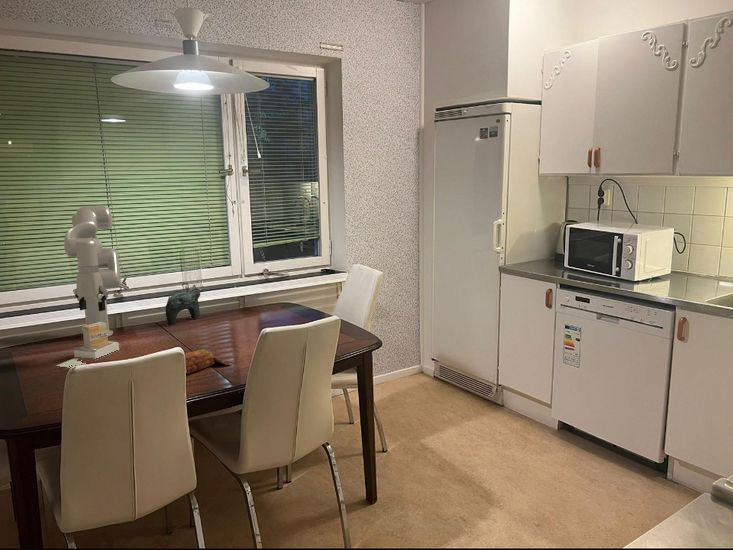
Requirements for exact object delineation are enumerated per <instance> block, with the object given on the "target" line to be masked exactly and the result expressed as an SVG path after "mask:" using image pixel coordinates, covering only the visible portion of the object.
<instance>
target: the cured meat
mask: <svg viewBox="0 0 733 550" xmlns="http://www.w3.org/2000/svg"><path fill="white" fill-rule="evenodd" d="M184 354H185V358H186V370H187V374H186V375H188V374H191V373H196V372H198V371H201V370H202V369H205V368H207V367H211V366H213V365H214V364H215V363H217V364H218V363H219V364H222V365H225V366H232V362H231V361H229V360H228V361H223V360H222V358H217V357H215V356H213V355H214V354H213V353H212V352H211V351H210V350H209V349H206V348H202V349H198V350H194V351H190V352H186V353H184Z"/></svg>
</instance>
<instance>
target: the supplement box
mask: <svg viewBox="0 0 733 550" xmlns="http://www.w3.org/2000/svg"><path fill="white" fill-rule="evenodd" d="M81 328H83V331H82V337H83V346H84V348H87V349H96V350H98V349H101V348H103V347H105V346H108V341H109V339H108V337H107V326H106V323H103V322H98V323H94V324H90V325H86V324H85V325H81Z"/></svg>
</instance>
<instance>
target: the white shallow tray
mask: <svg viewBox="0 0 733 550" xmlns="http://www.w3.org/2000/svg"><path fill="white" fill-rule="evenodd" d="M72 349H73V358H74V357H81V358H93V359H96V358H99V357H101V356H104V355H107V354H109V353H111V352H114V351H116V350H118V351H120V345H119V342H117V341H109V340H108V346H105V347H103V348H101V349H98V350H96V349H87V348H84V345H83V346H79V347H75V346H73V348H72ZM116 352H117V351H116ZM114 353H115V352H114ZM111 354H112V353H111ZM109 355H110V354H109ZM107 356H108V355H107ZM104 357H105V356H104Z"/></svg>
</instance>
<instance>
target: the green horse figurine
mask: <svg viewBox="0 0 733 550" xmlns="http://www.w3.org/2000/svg"><path fill="white" fill-rule="evenodd" d="M185 284H186V285H187V286H185V289H186V290H185V291H180V290H175V291H173V292H171V293H170V294H169V296H168V300H167V302H166V305H165V315H166V316H165V317H166V320H167V326H171V325H172V326H175V324H176V325H177V316H178V315H179V313H180V312H182V311H183V310H188V312H189V314H190V317H191V319H192V318H194V319H193V320H197V319H196V318H198V317H200V304H199V298H200V296H201V290H200V288H198V287H197V286H196V284H193V286H191V287H189V286H190V285H189V283H187V282H183V283H182V284H181V286H182V287H183V286H184V285H185ZM198 319H199V318H198Z"/></svg>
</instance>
